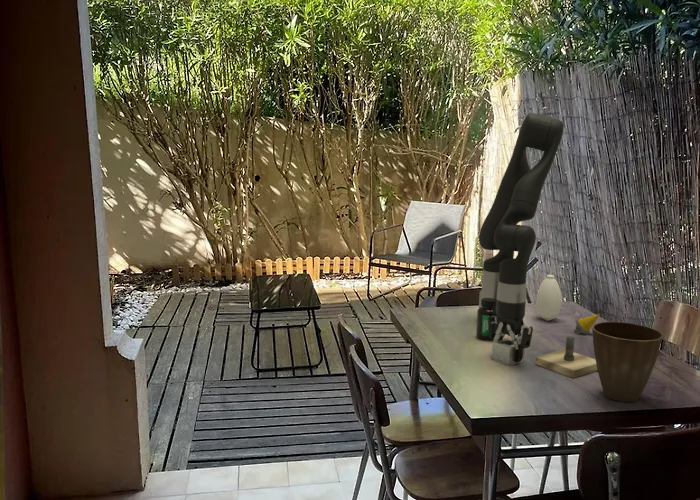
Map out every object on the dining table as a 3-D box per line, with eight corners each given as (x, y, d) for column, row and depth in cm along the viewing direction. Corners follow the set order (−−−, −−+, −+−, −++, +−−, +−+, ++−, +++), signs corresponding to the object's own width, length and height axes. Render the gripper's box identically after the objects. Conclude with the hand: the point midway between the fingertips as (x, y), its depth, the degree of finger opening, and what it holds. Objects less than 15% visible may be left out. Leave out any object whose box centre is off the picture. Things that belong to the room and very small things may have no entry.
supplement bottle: (487, 342, 181) (489, 303, 179) (471, 336, 187) (473, 298, 185) (503, 339, 185) (505, 300, 183) (487, 333, 191) (489, 295, 188)
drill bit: (577, 330, 196) (603, 313, 191) (581, 341, 192) (607, 324, 187) (566, 321, 195) (592, 304, 190) (569, 332, 190) (596, 315, 185)
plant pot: (579, 382, 151) (584, 320, 149) (642, 385, 150) (648, 322, 147) (597, 407, 137) (603, 339, 134) (667, 411, 135) (674, 342, 133)
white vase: (549, 324, 201) (553, 270, 198) (530, 318, 207) (533, 266, 204) (564, 320, 205) (568, 268, 202) (545, 315, 211) (549, 264, 208)
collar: (491, 359, 167) (492, 341, 166) (507, 355, 171) (507, 337, 170) (508, 365, 162) (509, 347, 162) (523, 361, 166) (525, 343, 165)
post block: (535, 363, 164) (537, 335, 162) (563, 355, 170) (565, 328, 169) (573, 378, 154) (575, 347, 153) (602, 369, 161) (604, 339, 159)
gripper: (542, 302, 160) (538, 363, 163) (500, 291, 171) (497, 348, 174) (523, 306, 156) (519, 368, 158) (481, 294, 167) (478, 353, 170)
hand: (507, 357), depth 166 cm, fingers closed on collar, 6 cm apart
